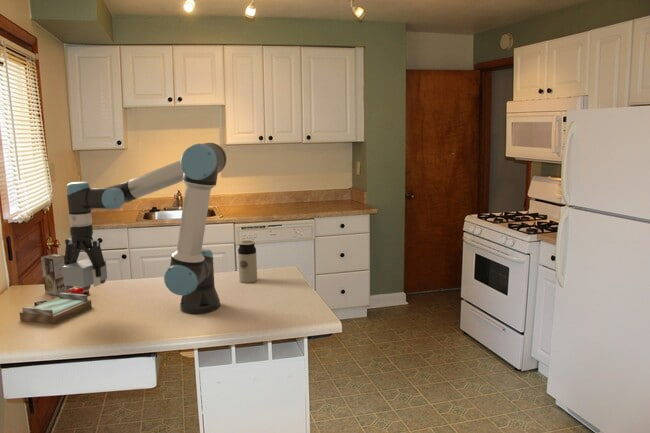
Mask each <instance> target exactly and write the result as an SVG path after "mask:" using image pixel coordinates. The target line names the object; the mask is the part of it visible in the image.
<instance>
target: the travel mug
mask: <svg viewBox="0 0 650 433" xmlns="http://www.w3.org/2000/svg"><path fill="white" fill-rule="evenodd" d="M237 243H238V246H239V247H238V249H237V251H238V252H237V256H238V257H237V258H238V273H239V274H238V276H239V279H238V280H239V282H240V283H244V284H252V283H255V282H257V281H258V267H257V262H258V261H257V248H256V246H255V244H256V241H255V240H251V239H250V240H249V239H248V240H247V239H245V240H240V241H239V242H237Z"/></svg>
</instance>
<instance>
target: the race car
mask: <svg viewBox="0 0 650 433" xmlns="http://www.w3.org/2000/svg"><path fill="white" fill-rule="evenodd" d="M66 293H71V294H81V295H87V296H88V295H89V294H90V289H89V290H84V289H83V288H82V287H73V288H70V290H69V291H68V292H66Z"/></svg>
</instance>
